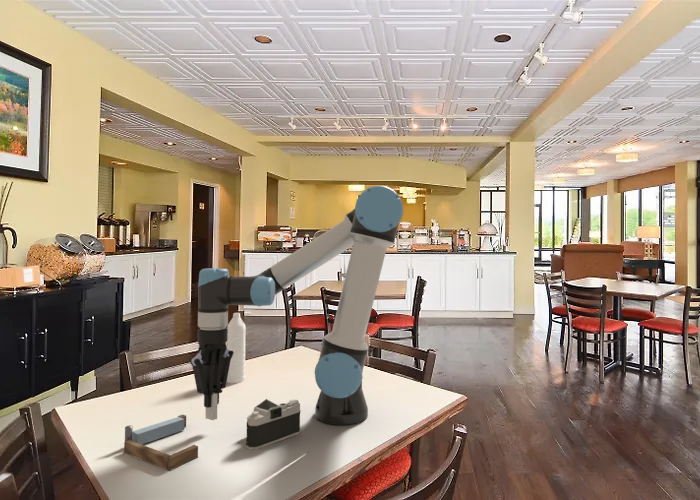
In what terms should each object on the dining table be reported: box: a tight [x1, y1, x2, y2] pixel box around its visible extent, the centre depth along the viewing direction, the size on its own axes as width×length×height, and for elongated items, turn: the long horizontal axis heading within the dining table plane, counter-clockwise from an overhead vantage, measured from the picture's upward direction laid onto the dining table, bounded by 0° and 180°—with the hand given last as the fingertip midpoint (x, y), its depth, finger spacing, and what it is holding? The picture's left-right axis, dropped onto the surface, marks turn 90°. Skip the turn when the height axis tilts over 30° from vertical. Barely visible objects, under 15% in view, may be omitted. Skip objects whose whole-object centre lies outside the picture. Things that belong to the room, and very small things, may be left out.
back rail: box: [123, 440, 171, 471], centre depth 100 cm, size 15×1×2 cm, turn 59°
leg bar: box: [132, 416, 185, 445], centre depth 112 cm, size 12×3×3 cm, turn 144°
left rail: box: [167, 444, 199, 471], centre depth 99 cm, size 1×7×2 cm, turn 149°
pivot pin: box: [124, 425, 133, 442], centre depth 106 cm, size 2×2×5 cm
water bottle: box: [226, 311, 252, 384], centre depth 162 cm, size 9×6×25 cm
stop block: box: [177, 414, 187, 429], centre depth 119 cm, size 2×1×3 cm
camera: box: [245, 398, 301, 450], centre depth 114 cm, size 16×9×10 cm, turn 137°
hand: (211, 418), depth 116 cm, fingers closed
